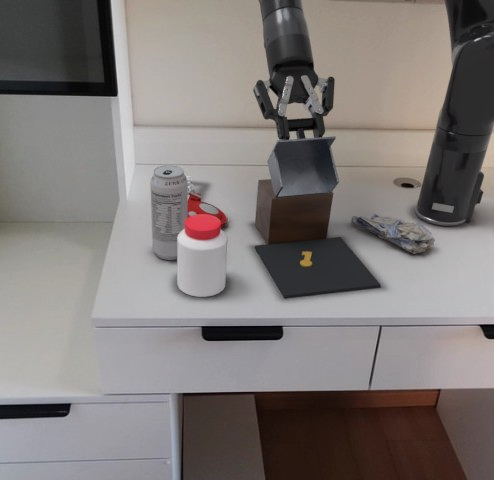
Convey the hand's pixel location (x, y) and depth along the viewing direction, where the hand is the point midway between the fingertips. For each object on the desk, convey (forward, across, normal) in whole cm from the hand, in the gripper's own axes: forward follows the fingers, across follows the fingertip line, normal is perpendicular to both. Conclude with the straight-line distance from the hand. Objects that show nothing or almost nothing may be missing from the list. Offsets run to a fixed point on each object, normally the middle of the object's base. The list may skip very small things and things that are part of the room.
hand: (302, 139), depth 101 cm
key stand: (+12, 0, +13) cm, 18 cm away
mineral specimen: (+16, +18, +9) cm, 26 cm away
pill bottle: (+22, -20, +3) cm, 30 cm away
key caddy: (+3, 0, +5) cm, 5 cm away
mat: (+21, 0, +4) cm, 21 cm away
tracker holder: (+7, -15, +19) cm, 25 cm away
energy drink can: (+15, -23, +11) cm, 29 cm away
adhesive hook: (-1, -16, +28) cm, 32 cm away
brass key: (+19, -1, +4) cm, 20 cm away
